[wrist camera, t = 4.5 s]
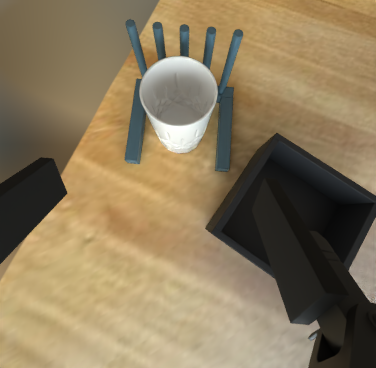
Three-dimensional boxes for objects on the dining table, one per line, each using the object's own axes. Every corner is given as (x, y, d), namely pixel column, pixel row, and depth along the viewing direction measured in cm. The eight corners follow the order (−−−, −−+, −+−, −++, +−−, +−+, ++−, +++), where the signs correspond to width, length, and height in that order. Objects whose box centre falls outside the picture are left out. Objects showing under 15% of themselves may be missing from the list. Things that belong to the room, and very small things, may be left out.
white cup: (149, 118, 28) (129, 67, 18) (196, 103, 29) (202, 47, 19) (164, 164, 27) (152, 136, 17) (213, 148, 28) (228, 113, 18)
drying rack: (139, 85, 29) (113, 14, 19) (231, 93, 29) (257, 27, 19) (127, 163, 27) (91, 131, 16) (226, 171, 27) (253, 146, 17)
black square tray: (257, 148, 28) (277, 132, 22) (341, 203, 27) (384, 200, 21) (205, 228, 26) (210, 233, 20) (292, 290, 25) (325, 314, 19)
